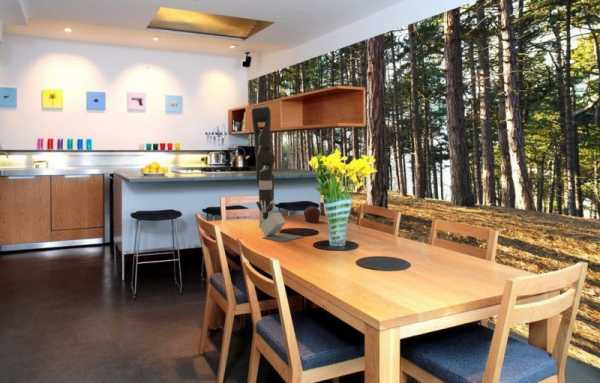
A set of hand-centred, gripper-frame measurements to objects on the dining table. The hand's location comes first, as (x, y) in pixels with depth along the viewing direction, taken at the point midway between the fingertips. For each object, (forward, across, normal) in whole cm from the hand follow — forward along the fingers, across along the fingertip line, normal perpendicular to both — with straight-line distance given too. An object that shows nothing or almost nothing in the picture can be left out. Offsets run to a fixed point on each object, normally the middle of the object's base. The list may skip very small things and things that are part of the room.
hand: (265, 218), depth 275 cm
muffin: (+10, +11, -57) cm, 59 cm away
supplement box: (+7, -1, 0) cm, 7 cm away
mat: (+10, -12, -1) cm, 16 cm away
